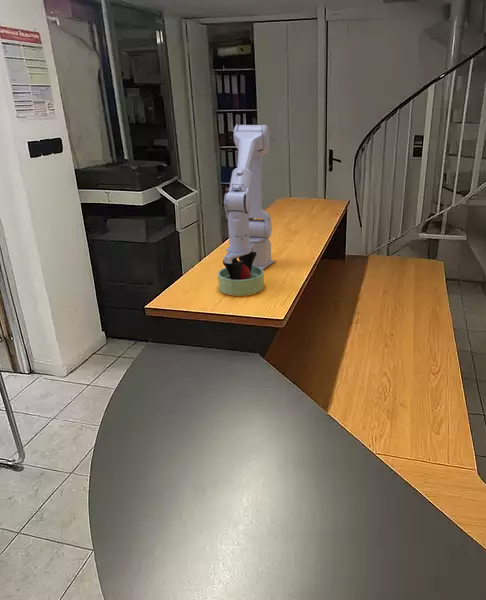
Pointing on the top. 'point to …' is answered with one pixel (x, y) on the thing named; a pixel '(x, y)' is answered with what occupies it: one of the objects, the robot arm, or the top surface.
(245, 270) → the onion
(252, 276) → the bowl
